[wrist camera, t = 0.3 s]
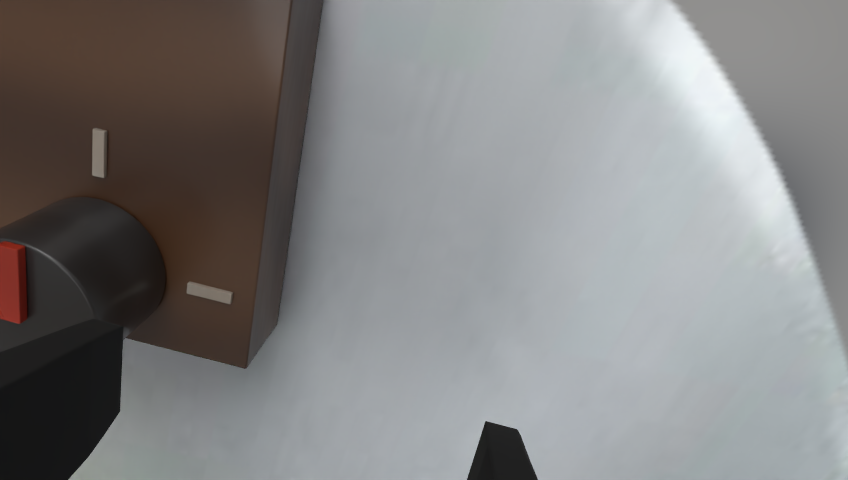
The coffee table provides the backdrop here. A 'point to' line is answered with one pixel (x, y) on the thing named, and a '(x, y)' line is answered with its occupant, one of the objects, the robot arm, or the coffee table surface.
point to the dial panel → (168, 143)
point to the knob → (76, 270)
